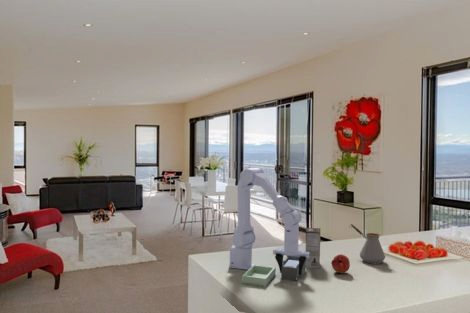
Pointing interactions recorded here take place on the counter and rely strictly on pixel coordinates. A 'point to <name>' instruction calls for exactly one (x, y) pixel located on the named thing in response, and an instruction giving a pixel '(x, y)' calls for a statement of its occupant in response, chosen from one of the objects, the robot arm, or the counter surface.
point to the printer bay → (296, 260)
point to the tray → (259, 275)
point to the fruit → (340, 263)
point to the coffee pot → (371, 248)
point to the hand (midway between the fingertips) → (290, 273)
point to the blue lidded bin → (290, 270)
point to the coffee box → (313, 247)
